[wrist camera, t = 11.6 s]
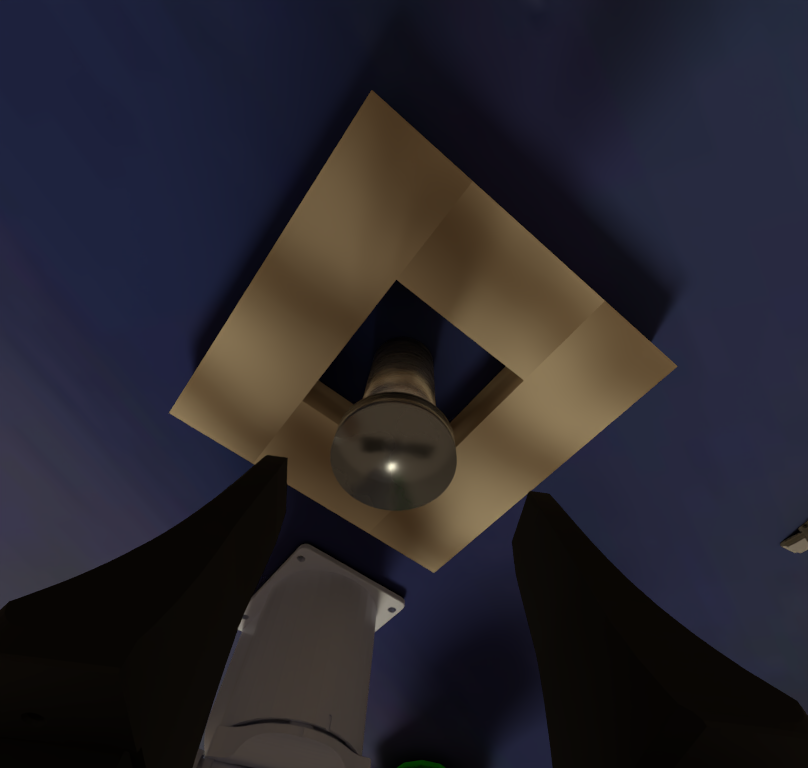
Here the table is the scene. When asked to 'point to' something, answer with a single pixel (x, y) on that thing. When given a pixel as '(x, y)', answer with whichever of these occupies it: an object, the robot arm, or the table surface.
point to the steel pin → (396, 433)
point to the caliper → (797, 540)
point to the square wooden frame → (448, 295)
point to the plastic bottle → (420, 764)
